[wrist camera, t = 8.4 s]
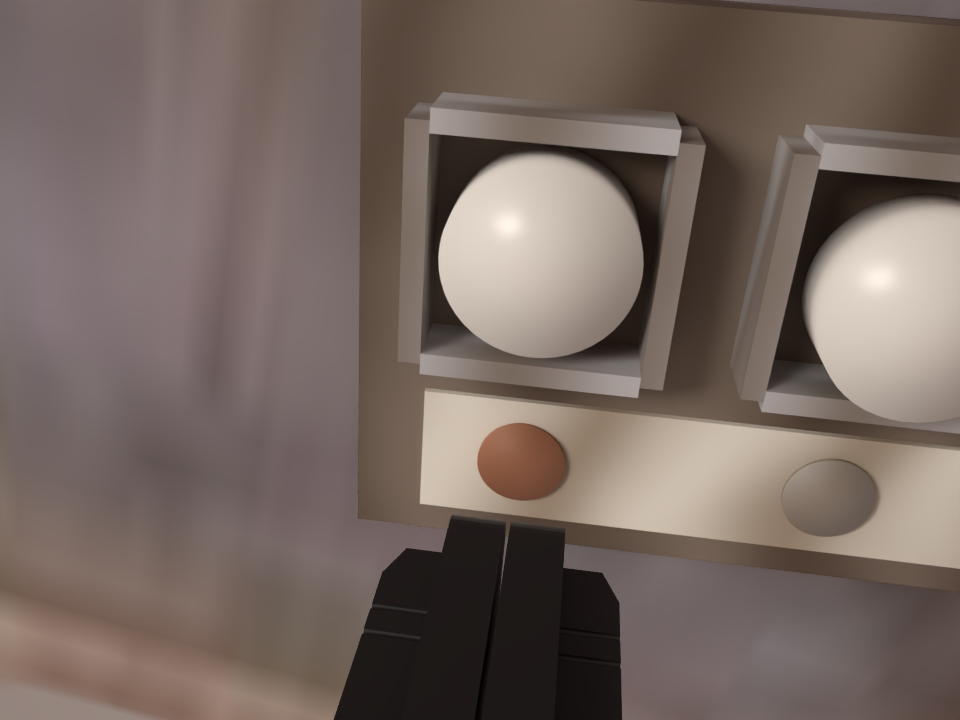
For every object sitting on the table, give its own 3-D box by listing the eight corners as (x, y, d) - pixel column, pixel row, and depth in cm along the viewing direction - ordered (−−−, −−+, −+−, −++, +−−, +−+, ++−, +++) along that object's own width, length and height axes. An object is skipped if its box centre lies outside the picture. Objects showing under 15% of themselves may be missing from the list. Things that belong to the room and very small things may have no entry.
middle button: (1049, 203, 21) (1091, 231, 19) (981, 393, 23) (1013, 433, 22) (828, 182, 21) (849, 208, 20) (782, 372, 24) (797, 410, 22)
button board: (1530, 65, 22) (1712, 96, 18) (1238, 586, 29) (1327, 681, 26) (379, -27, 24) (341, -16, 20) (371, 482, 31) (342, 557, 27)
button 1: (653, 154, 23) (658, 175, 21) (625, 335, 25) (628, 368, 23) (454, 136, 23) (443, 155, 21) (445, 316, 25) (433, 347, 24)
